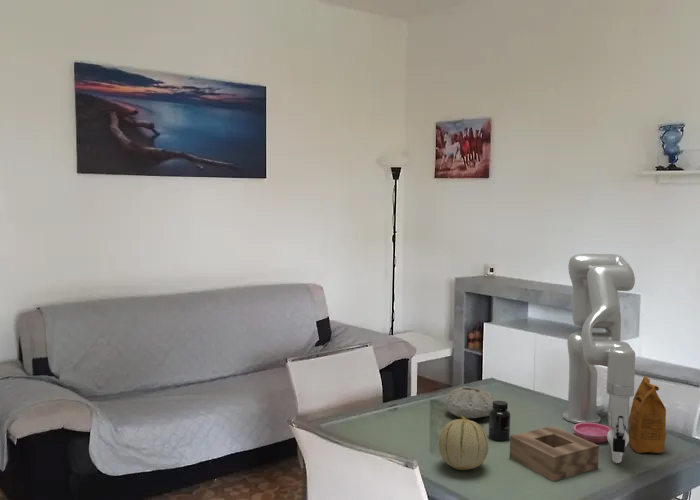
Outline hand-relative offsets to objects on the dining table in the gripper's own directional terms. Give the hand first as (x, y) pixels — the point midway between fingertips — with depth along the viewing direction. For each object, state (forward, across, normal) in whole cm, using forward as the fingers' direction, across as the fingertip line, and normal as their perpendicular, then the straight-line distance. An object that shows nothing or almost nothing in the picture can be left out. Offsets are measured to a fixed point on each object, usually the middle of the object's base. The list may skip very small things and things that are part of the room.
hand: (617, 446), depth 197 cm
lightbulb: (+5, 0, 0) cm, 5 cm away
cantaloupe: (+5, +17, -44) cm, 47 cm away
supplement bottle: (+5, -10, -35) cm, 37 cm away
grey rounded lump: (+5, -28, -47) cm, 55 cm away
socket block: (+5, +6, -18) cm, 20 cm away
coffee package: (+5, -16, +10) cm, 19 cm away
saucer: (+6, -20, -6) cm, 21 cm away
